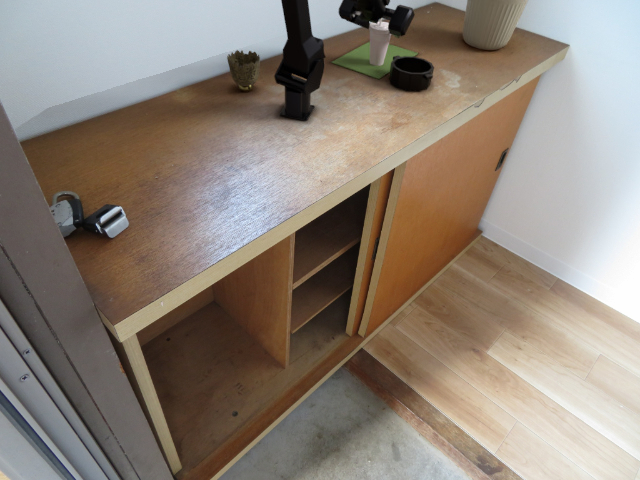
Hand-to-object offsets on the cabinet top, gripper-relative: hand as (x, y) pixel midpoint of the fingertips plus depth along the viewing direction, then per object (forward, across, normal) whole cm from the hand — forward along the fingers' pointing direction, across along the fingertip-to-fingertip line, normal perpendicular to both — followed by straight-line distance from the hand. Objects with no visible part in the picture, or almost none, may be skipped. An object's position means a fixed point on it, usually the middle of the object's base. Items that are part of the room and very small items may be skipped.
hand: (383, 31), depth 115 cm
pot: (+2, -12, +10) cm, 16 cm away
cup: (-20, +16, +31) cm, 40 cm away
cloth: (+7, +2, +5) cm, 8 cm away
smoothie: (+4, 0, +7) cm, 8 cm away
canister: (+30, -17, -18) cm, 39 cm away
